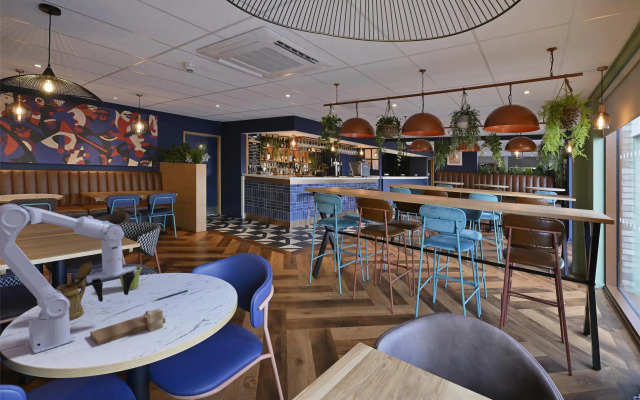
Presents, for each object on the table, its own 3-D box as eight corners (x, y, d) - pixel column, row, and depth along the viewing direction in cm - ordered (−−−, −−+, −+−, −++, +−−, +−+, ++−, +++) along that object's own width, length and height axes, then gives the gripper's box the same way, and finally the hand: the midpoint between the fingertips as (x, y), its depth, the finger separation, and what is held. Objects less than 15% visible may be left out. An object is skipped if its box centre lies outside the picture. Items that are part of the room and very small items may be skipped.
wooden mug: (101, 308, 122) (99, 262, 120) (63, 323, 109) (60, 273, 107) (85, 304, 125) (83, 259, 123) (45, 319, 112) (43, 269, 110)
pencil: (188, 292, 140) (153, 302, 128) (186, 291, 141) (151, 302, 129) (187, 290, 140) (153, 300, 128) (186, 289, 141) (151, 300, 129)
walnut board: (98, 345, 96) (98, 340, 96) (90, 336, 101) (90, 331, 101) (165, 322, 111) (165, 318, 111) (155, 315, 117) (155, 311, 116)
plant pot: (134, 292, 138) (133, 272, 137) (112, 291, 138) (112, 272, 137) (146, 284, 147) (145, 266, 147) (126, 284, 147) (125, 265, 147)
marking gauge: (150, 331, 105) (150, 314, 105) (140, 323, 111) (139, 307, 110) (163, 327, 108) (162, 310, 108) (152, 319, 114) (152, 303, 113)
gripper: (90, 265, 100) (91, 307, 101) (139, 257, 111) (140, 294, 112) (83, 261, 104) (85, 301, 106) (132, 253, 115) (133, 289, 117)
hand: (113, 297), depth 109 cm, fingers open, 7 cm apart
